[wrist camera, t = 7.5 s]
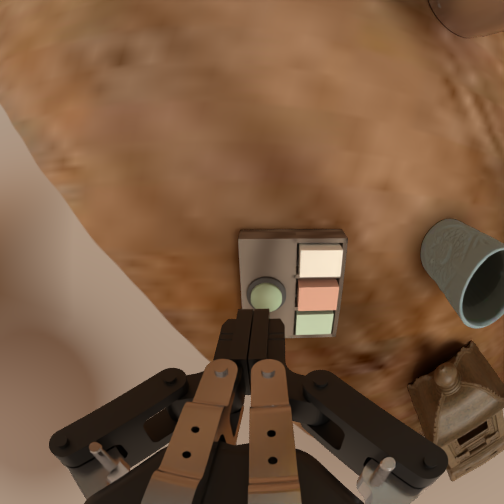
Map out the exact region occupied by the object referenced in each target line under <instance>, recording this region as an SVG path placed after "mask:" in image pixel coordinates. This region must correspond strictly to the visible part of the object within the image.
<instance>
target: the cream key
mask: <svg viewBox="0 0 504 504" xmlns="http://www.w3.org/2000/svg"><path fill="white" fill-rule="evenodd" d="M342 256H343V249H342V247H341V245H340V244H339V243H299V253H298V270H299V276H300V277H340V276H341V266H342Z"/></svg>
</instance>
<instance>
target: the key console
mask: <svg viewBox="0 0 504 504" xmlns="http://www.w3.org/2000/svg"><path fill="white" fill-rule="evenodd" d="M347 242H348V238H347V236H346V235H345V233H344V232H343V230H342V229H280V230H240V234H239V238H238V247H239V265H240V282H241V299H242V309H269V310H270V319H277V318H280V319H281V320H282V322H283V323H284V325H285V338H312V337H336V331H337V324H338V318H339V311H340V304H341V296H342V289H343V280H344V272H345V263H346V253H347ZM299 243H339V244H340V245H341V247H342V249H343V256H342V266H341V276H340V277H300V276H299V270H298V253H299ZM298 278H336V280H337V282H338V285H339V293H338V301H337V309H336V310H333V313H334V315H333V322H332V329H331V334H314V335H296V333H295V311H298V307H297V281H298Z"/></svg>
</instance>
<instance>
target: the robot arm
mask: <svg viewBox="0 0 504 504" xmlns="http://www.w3.org/2000/svg"><path fill="white" fill-rule="evenodd" d="M429 4H430V6H431V8H432V10H433V12H434V13H435V15H436V16H437V18H438V19H439V20H440V21H441V23H442V24H443V25H445V26H446V27H447V28H448V29H449V30H450V31H452V32H453V33H455V34H457V35H458V36H461V37H464V38H474V37H477V36H483V37H484V36H488V35H491V34H495V33H499V32H503V31H504V0H429ZM245 395H251V407H250V420H249V422H250V424H249V425H250V426H249V427H250V428H249V430H250V431H249V443H248V444H242V445H236V442H237V437H238V432H239V428H240V424H241V419H242V414H243V410H244V405H243V404H244V399H245V398H244V397H245ZM164 408H165V409H164ZM161 410H162V411H161ZM158 412H159V413H158ZM155 414H156V415H155ZM153 415H154V416H153ZM152 416H153V417H152ZM150 417H151V418H150ZM149 418H150V419H149ZM147 419H148V420H147ZM292 421H295V422H300V423H301V425H302V427H303V428H304V429H305V430H306V431H307V432H308V433H310V434H311V435H312V436H313V437H314V438H315V439H316V440H317V441H319V442H320V443H321V444H322V445H323V446H324V447H325V448H326V449H328V450H329V451H330V452H331V453H332V454H334V455H335V456H336V457H337V458H338V459H339V460H341V461H342V462H343V463H344V464H345V465H347V466H348V467H349V468H350V469H352V470H353V471H354V472H355V473H356V474H358V475H359V477H358V480H357V489H358V491H359V493H360V494H361V495H362V496H363V497H364V500H365V504H410V503H411V502H412V501H414V500H415V499H416V498H417V497H418V496H419V495H420V494H422V493H423V492H424V491H425V490H426V489H427V488H428V487H429V486H430V485H431V484H432V483H434V482H435V481H436V480H437V479H438V478H439V477H440V476H441V475H442V474H443V473H444V471H445V470H446V468H447V466H448V456H447V454H446V452H445V451H444V450H443V449H442V448H440V447H439V446H437V445H436V444H434V443H433V442H431V441H429V440H428V439H426V438H425V437H423V436H422V435H420V434H419V433H417V432H416V431H414V430H413V429H411V428H410V427H408V426H407V425H405V424H404V423H402V422H401V421H399V420H398V419H396V418H395V417H393V416H392V415H391V414H389V413H388V412H386V411H385V410H383V409H382V408H380V407H379V406H378V405H376V404H375V403H373V402H372V401H370V400H369V399H368V398H366V397H365V396H363V395H362V394H360V393H359V392H358V391H356V390H355V389H354V388H352V387H351V386H349V385H348V384H347V383H345V382H344V381H342V380H341V379H340V378H338V377H337V376H336V375H334V374H333V373H331V372H329V371H326V370H316V371H312V372H310V373H308V374H307V375H306V376H304V375H299V374H296V373H294V372H292V371H291V370H289V369H288V368H287V366H286V363H285V325H284V323H283V322H282V320H281V319H280V318H277V319H270V310H269V309H238V313H237V318H236V319H228V320H227V321H226V322H225V323H224V324H223V325H222V328H221V332H220V336H219V340H218V344H217V348H216V352H215V356H214V359H213V361H212V362H210V363H209V364H208V365H207V366H206V368H205V370H204V371H203V372H200V373H197V374H191V375H186V374H185V373H184V372H183V371H182V370H180V369H177V368H168V369H165V370H163V371H161V372H159V373H157V374H156V375H154V376H153V377H151V378H149V379H148V380H146V381H144V382H143V383H141V384H139V385H138V386H136V387H134V388H133V389H131V390H129V391H128V392H126V393H124V394H123V395H121V396H119V397H118V398H116V399H114V400H112V401H111V402H109V403H107V404H106V405H104V406H102V407H101V408H99V409H97V410H95V411H93V412H92V413H90V414H88V415H86V416H85V417H83V418H81V419H79V420H77V421H76V422H74V423H72V424H70V425H68V426H66V427H64V428H63V429H61V430H59V431H57V432H56V433H55V434H53V435H52V437H51V439H50V441H49V448H50V450H51V452H52V453H53V454H54V455H55V456H56V457H57V458H58V459H59V460H60V461H61V463H62V464H63V465H64V466H65V467H66V468H67V469H69V471H70V473H71V474H72V476H73V478H74V480H75V481H76V483H77V485H78V487H79V488H80V490H81V492H82V493H83V495H84V497H85V498H86V502H85V503H84V504H364V503H363V502H362V501H361V500H360V499H359V498H358V497H356V496H355V495H354V494H353V493H352V492H351V491H350V490H348V489H347V488H346V487H345V486H344V485H343V484H342V483H341V482H340V481H339V480H338V479H336V478H335V477H334V476H333V475H332V474H331V473H330V472H329V471H328V470H327V469H326V468H325V467H324V466H323V465H322V464H321V463H320V462H319V461H317V460H316V459H315V458H314V457H313V456H311V455H310V454H308V453H306V452H303V451H301V450H299V449H295V441H294V432H293V423H292ZM167 443H169V445H168V446H167V447H165V448H163V449H161V450H160V451H158V452H157V453H156V454H154V455H153V456H151V457H150V458H148V459H147V460H145V461H144V462H143V463H141V464H140V465H139V466H137V467H135V468H134V469H132V470H131V471H130V468H131V467H132V466H134V465H136V464H137V463H139V462H140V461H142V460H143V459H145V458H146V457H148V456H150V455H151V454H153V453H154V452H156V451H157V450H159V449H160V448H162V447H163V446H165V445H166V444H167Z"/></svg>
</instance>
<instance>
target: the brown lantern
mask: <svg viewBox="0 0 504 504" xmlns="http://www.w3.org/2000/svg"><path fill="white" fill-rule="evenodd" d="M408 391H409V393H410V396H411V399H412V402H413V405H414V407H415V410H416V413H417V415H418V418H419V421H420V424H421V427H422V430H423V433H424V436H425V438H426V439H428V440H429V441H431V442H433V443H434V444H436V445H437V446H439V447H440V448H442V449H443V450H444V451H445V452H446V454H447V456H448V466H447V468H446V470H447V472H448V474H449V477H450V480H451V481H455V480H456V479H458V478H459V477H461V476H463V475H465V474H466V473H468V472H470V471H472V470H474V469H476V468H477V467H479V466H481V465H483V464H484V463H486V462H487V461H489V460H490V459H492V458H493V457H495V456H496V455H498V454H499V453H500V452H502V451H503V450H504V418H503V411H502V409H503V408H504V385H503V383H502V382H501V380H500V378H499V377H498V375H497V374H496V373H495V371H494V370H493V368H492V367H491V366H490V364H489V363H488V361H487V360H486V359H485V357H484V356H483V355H482V353H481V352H480V350H479V349H478V347H477V346H476V344H475V343H473V341H471V342H470V345H468V346H467V347H466V348H464V347H463V348H461V351H460V352H458V353H457V355H455V356H454V357H452V358H451V359H450V360H448V361H447V362H445V363H443V364H441V365H439V366H438V367H437V368H436V369H435V370H434V371H432V372H431V373H429V374H427V375H423V376H421V377H419V378H416V381H415V382H414V383H413V384H408Z"/></svg>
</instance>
